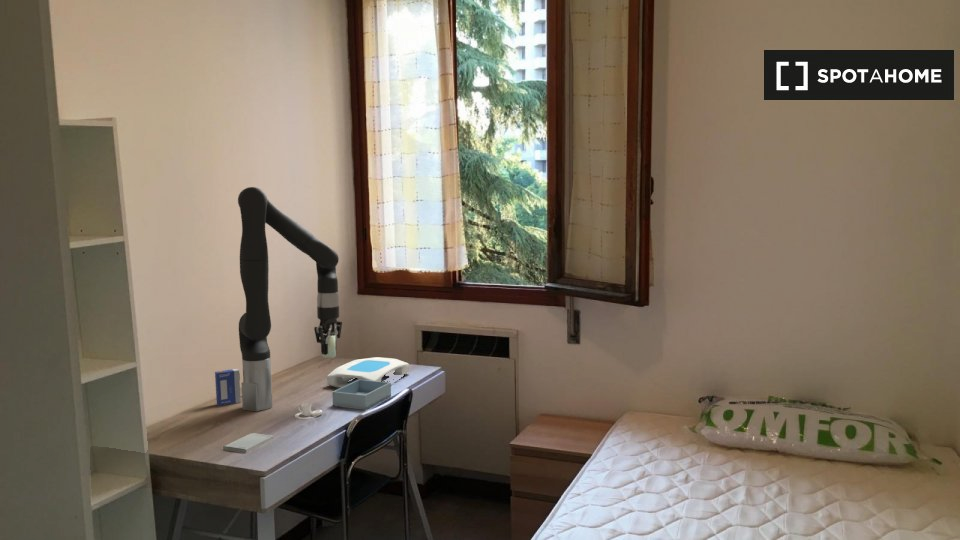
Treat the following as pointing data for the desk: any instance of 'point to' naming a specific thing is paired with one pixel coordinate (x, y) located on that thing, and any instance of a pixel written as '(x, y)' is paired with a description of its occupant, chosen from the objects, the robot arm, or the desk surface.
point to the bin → (361, 394)
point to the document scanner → (366, 370)
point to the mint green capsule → (330, 347)
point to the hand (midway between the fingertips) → (329, 352)
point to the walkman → (227, 387)
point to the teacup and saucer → (308, 411)
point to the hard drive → (248, 442)
